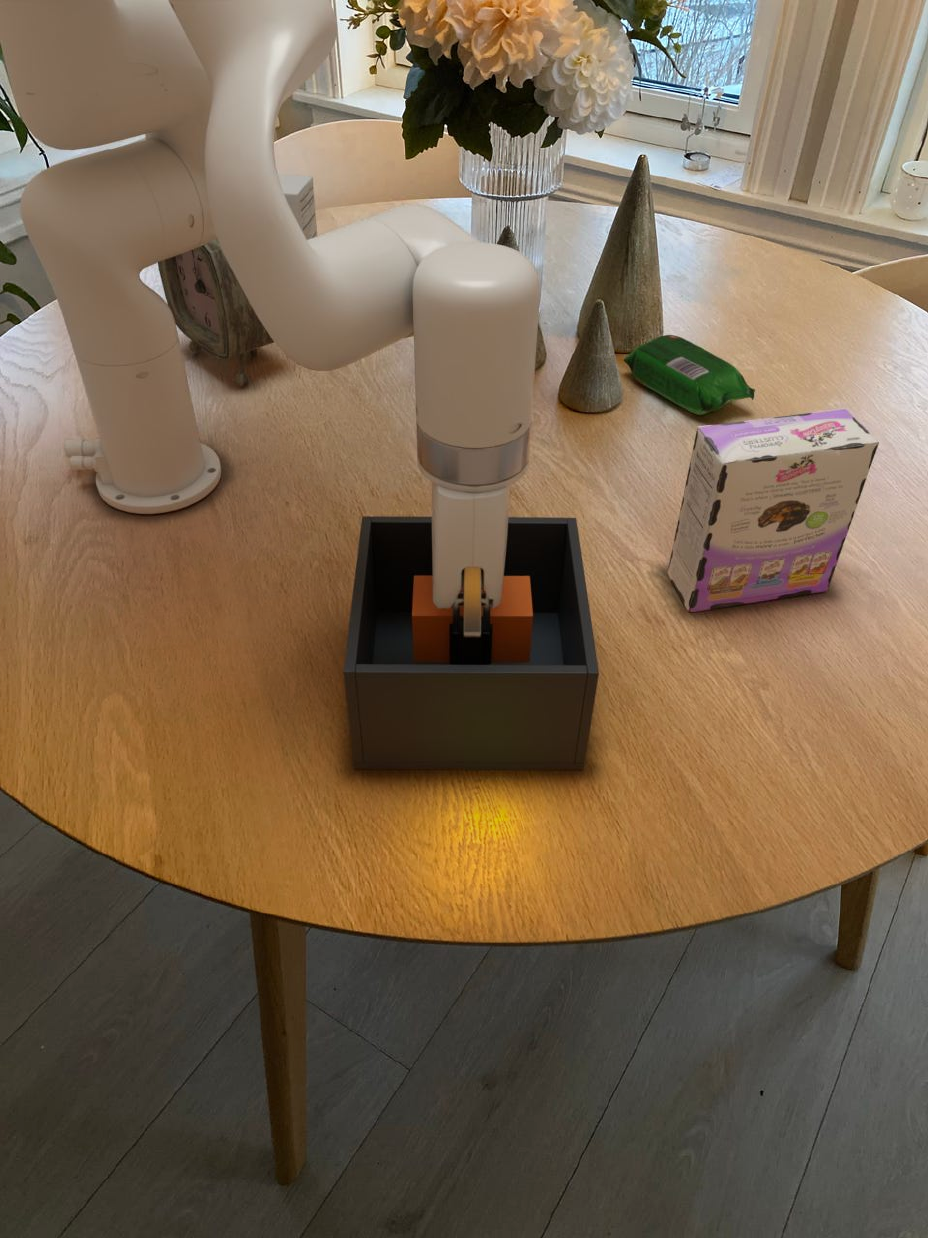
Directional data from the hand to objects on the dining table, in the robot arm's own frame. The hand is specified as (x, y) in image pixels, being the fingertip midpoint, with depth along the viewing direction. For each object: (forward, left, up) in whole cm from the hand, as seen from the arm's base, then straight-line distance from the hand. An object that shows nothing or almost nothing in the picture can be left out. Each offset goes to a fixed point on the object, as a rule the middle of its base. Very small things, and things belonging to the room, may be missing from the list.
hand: (470, 636), depth 76 cm
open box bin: (0, 0, -6) cm, 6 cm away
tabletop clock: (-28, +54, -6) cm, 61 cm away
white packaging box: (-25, +80, -6) cm, 84 cm away
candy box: (+26, +13, -6) cm, 30 cm away
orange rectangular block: (0, 0, -1) cm, 1 cm away
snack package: (+26, +47, -6) cm, 54 cm away
